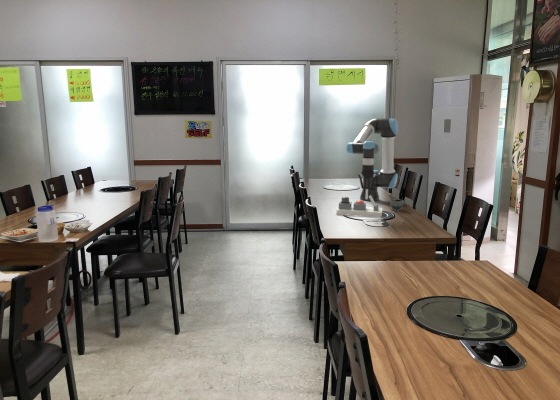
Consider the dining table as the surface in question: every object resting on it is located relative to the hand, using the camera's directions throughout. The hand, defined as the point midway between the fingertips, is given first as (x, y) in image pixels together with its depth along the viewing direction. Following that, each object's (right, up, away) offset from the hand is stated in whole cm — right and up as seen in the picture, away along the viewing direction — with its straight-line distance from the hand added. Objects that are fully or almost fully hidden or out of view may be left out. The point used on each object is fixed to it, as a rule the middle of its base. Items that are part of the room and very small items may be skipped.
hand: (366, 198), depth 309 cm
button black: (-14, -4, +4) cm, 15 cm away
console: (-4, -10, +3) cm, 11 cm away
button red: (-4, -6, +2) cm, 8 cm away
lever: (+6, -6, 0) cm, 9 cm away
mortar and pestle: (+24, -8, +16) cm, 29 cm away
